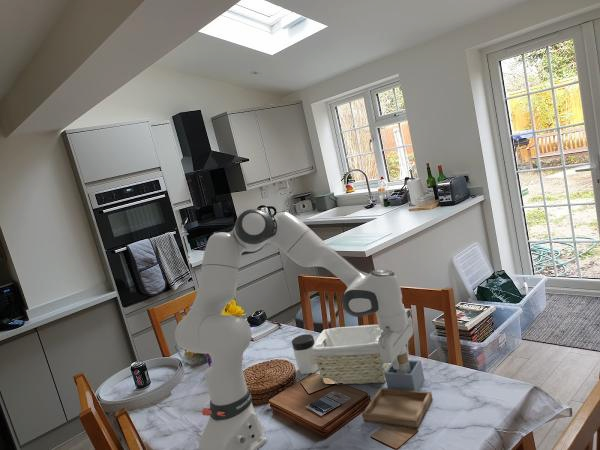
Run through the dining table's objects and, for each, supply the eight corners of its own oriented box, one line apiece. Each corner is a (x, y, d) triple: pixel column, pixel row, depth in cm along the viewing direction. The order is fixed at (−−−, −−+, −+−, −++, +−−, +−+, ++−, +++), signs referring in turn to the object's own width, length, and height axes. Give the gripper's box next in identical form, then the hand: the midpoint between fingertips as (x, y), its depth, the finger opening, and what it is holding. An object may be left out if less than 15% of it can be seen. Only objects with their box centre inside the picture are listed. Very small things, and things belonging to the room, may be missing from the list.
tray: (417, 428, 124) (416, 420, 124) (363, 421, 133) (362, 414, 133) (432, 399, 136) (431, 392, 135) (382, 394, 145) (380, 387, 144)
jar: (309, 376, 167) (301, 346, 166) (294, 372, 173) (286, 342, 172) (325, 365, 173) (318, 335, 171) (310, 361, 179) (303, 332, 177)
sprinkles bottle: (405, 380, 149) (397, 341, 147) (417, 384, 146) (408, 344, 144) (396, 387, 147) (387, 348, 145) (408, 391, 143) (399, 350, 141)
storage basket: (395, 361, 164) (387, 322, 162) (389, 386, 149) (379, 343, 147) (331, 365, 172) (322, 328, 170) (319, 389, 157) (309, 348, 155)
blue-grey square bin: (415, 394, 140) (411, 375, 139) (388, 392, 145) (384, 373, 144) (424, 379, 147) (420, 360, 146) (398, 377, 152) (394, 359, 151)
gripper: (389, 335, 133) (399, 380, 135) (412, 307, 150) (420, 346, 152) (369, 335, 136) (379, 378, 138) (394, 307, 153) (402, 346, 155)
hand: (401, 361), depth 145 cm, fingers open, 6 cm apart
